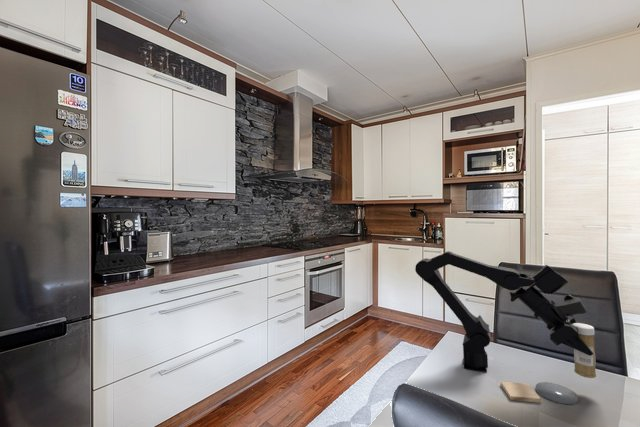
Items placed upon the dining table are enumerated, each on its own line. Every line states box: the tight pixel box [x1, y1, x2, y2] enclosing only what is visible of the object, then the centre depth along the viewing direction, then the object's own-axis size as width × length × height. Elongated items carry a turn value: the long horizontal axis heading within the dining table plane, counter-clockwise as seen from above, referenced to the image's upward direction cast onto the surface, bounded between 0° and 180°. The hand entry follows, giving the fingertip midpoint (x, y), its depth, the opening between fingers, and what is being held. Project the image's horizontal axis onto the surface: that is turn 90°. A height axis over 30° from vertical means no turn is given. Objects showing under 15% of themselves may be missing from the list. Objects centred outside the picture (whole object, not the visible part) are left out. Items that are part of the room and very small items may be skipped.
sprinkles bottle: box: [572, 322, 597, 379], centre depth 80 cm, size 5×5×13 cm
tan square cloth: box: [500, 381, 542, 404], centre depth 80 cm, size 7×7×1 cm
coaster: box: [535, 381, 579, 405], centre depth 79 cm, size 9×9×1 cm
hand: (590, 351), depth 79 cm, fingers closed on sprinkles bottle, 4 cm apart
